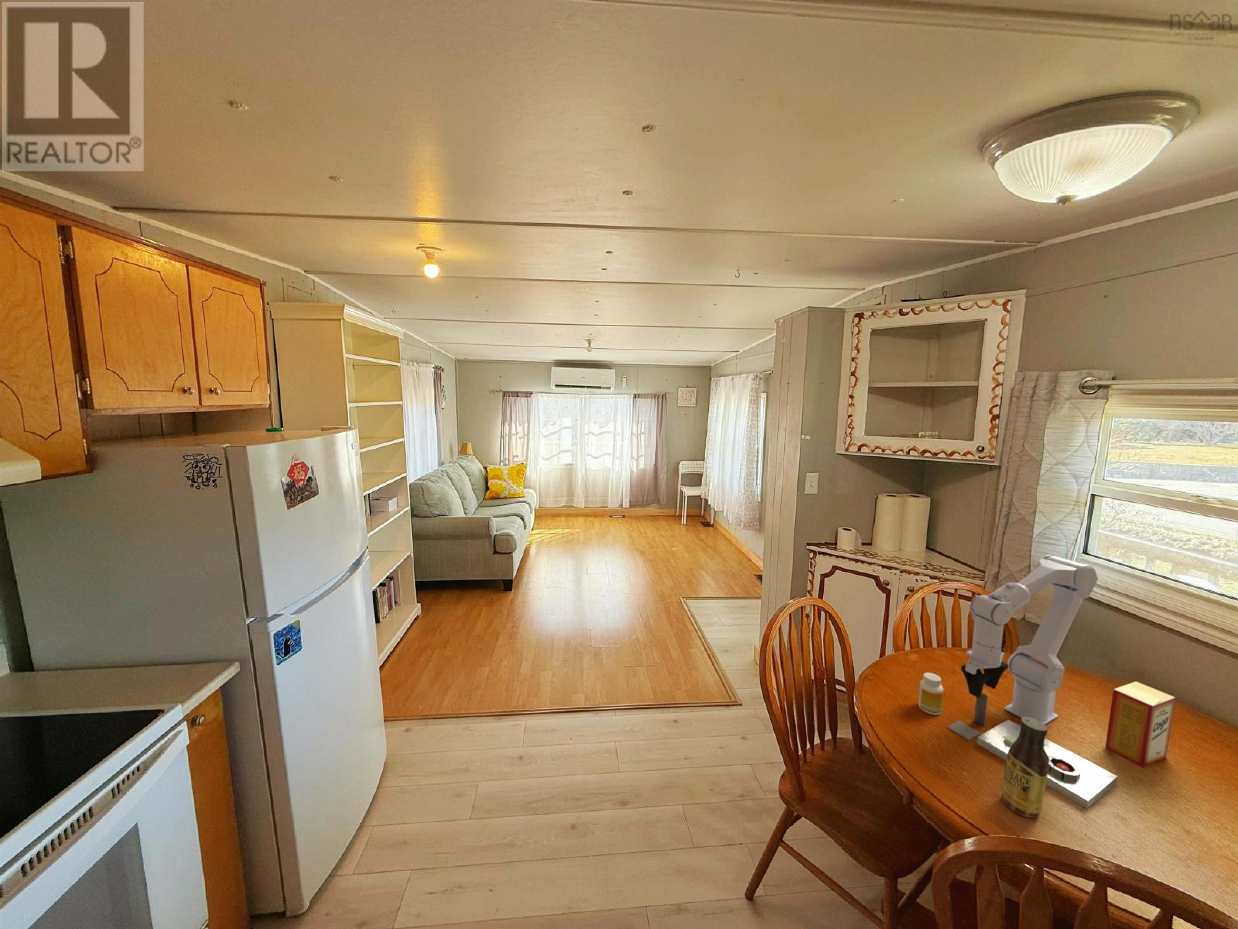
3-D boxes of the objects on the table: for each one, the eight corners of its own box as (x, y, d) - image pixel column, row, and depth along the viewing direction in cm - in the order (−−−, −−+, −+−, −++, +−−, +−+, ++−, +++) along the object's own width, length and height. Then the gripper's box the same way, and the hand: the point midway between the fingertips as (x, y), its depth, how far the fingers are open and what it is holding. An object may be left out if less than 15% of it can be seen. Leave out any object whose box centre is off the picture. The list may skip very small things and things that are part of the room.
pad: (1009, 741, 109) (1010, 735, 109) (1021, 748, 107) (1022, 741, 107) (1004, 745, 108) (1004, 738, 108) (1016, 751, 106) (1017, 745, 106)
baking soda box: (1127, 738, 112) (1136, 679, 110) (1166, 757, 106) (1176, 695, 104) (1105, 748, 109) (1113, 687, 107) (1143, 768, 103) (1152, 704, 101)
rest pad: (958, 722, 118) (958, 720, 118) (980, 734, 114) (980, 733, 114) (947, 727, 116) (947, 726, 116) (969, 740, 112) (969, 739, 112)
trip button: (1057, 769, 101) (1058, 762, 101) (1069, 775, 99) (1070, 768, 99) (1053, 772, 100) (1054, 765, 100) (1065, 779, 98) (1066, 771, 98)
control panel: (1007, 726, 116) (1008, 714, 116) (1116, 784, 98) (1118, 770, 98) (977, 744, 110) (978, 731, 110) (1087, 809, 92) (1089, 794, 92)
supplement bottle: (945, 716, 120) (948, 683, 119) (923, 714, 121) (926, 681, 120) (935, 703, 126) (938, 672, 124) (914, 701, 127) (917, 670, 125)
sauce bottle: (993, 795, 96) (1002, 711, 93) (1019, 793, 96) (1029, 709, 94) (1022, 823, 89) (1033, 734, 87) (1051, 821, 90) (1062, 731, 87)
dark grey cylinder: (976, 719, 119) (979, 691, 118) (986, 724, 117) (989, 696, 116) (972, 721, 118) (974, 693, 117) (981, 726, 116) (984, 698, 115)
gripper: (983, 629, 121) (979, 675, 123) (954, 642, 115) (949, 690, 117) (1015, 641, 115) (1010, 689, 117) (986, 655, 109) (981, 706, 111)
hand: (982, 690), depth 116 cm, fingers open, 7 cm apart
